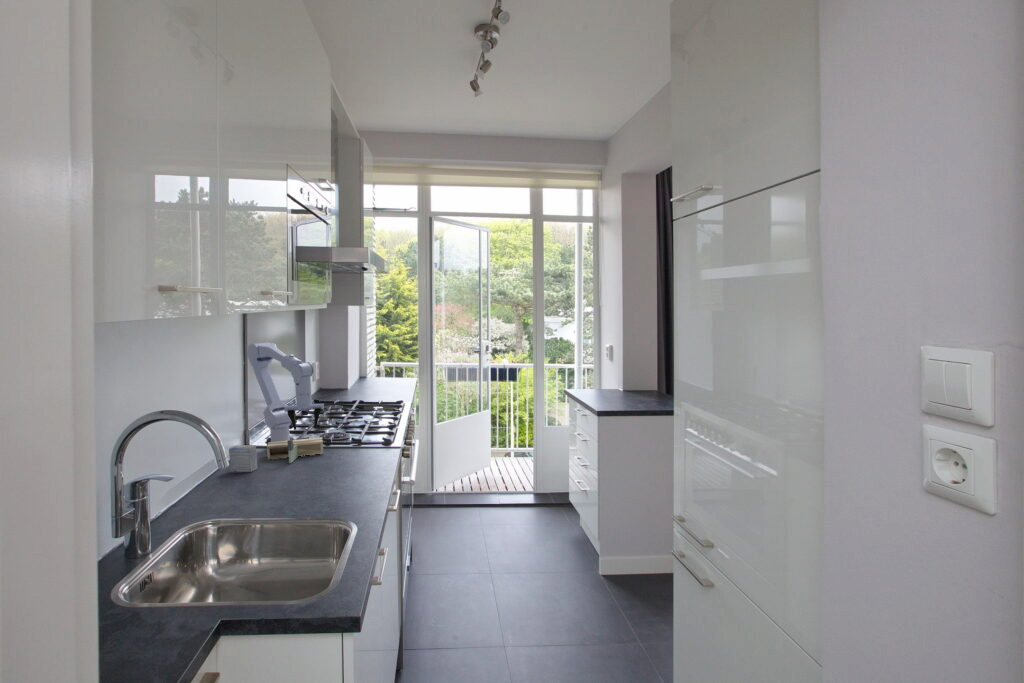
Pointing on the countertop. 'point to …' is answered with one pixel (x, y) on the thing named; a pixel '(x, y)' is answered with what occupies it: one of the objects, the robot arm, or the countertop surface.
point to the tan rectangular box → (303, 448)
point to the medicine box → (243, 458)
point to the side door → (292, 451)
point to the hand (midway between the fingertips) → (305, 428)
